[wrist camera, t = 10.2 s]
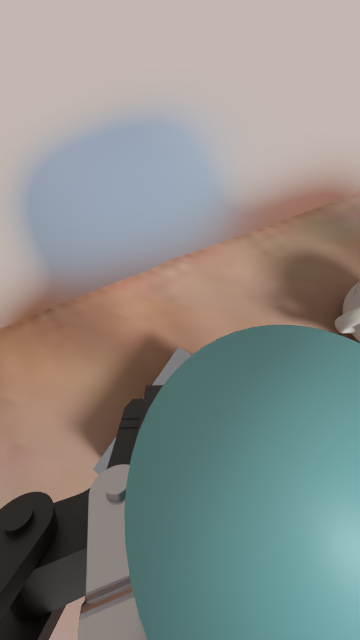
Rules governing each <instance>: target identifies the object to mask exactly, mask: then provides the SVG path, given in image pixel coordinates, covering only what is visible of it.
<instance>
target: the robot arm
mask: <svg viewBox="0 0 360 640" xmlns="http://www.w3.org/2000/svg"><path fill="white" fill-rule="evenodd" d="M162 387H163V385H147V386H146V390H145V395H144V399H133V400H132V401H131V402H130V403H129V404H128V405H127V406H126V407H125V409H124V413H123V416H122V421H121V423H120V426H119V430H118V433H117V436H116V440H115V443H114V446H113V450H112V453H111V456H110V460H109V463H108V466H107V469H106V470H105V471H104V472H102V473H101V474H100V475H99V476H98V477H97V478H96V479H95V481H94V482H93V484H92V486H91V488H90V489H88V490H87V491H85V492H83V493H81V494H78V495H76V496H73V497H70V498H67V499H64V500H61V501H58V502H55V503H53V501H52V499H51V498H50V496H49V495H47V494H45V493H43V492H31V493H27V494H24V495H21V496H19V497H17V498H15V499H14V500H12V501H10V502H9V503H8V504H6V505H5V506H4V507H3V508H1V509H0V640H49V638H50V636H51V634H52V632H53V630H54V628H55V626H56V624H57V622H58V620H59V618H60V616H61V614H62V612H63V610H64V608H65V606H66V604H68V603H71V602H73V601H75V600H77V599H79V598H81V597H83V596H85V595H86V596H85V601H84V603H83V604H82V606H81V611H80V618H79V629H78V640H147V637H146V634H145V631H144V628H143V626H142V623H141V620H140V617H139V614H138V610H137V606H136V602H135V598H134V594H133V590H132V586H131V581H130V576H129V568H128V561H127V554H126V547H125V520H124V510H125V496H126V483H127V477H128V472H129V466H130V461H131V456H132V452H133V449H134V446H135V442H136V439H137V436H138V433H139V430H140V428H141V425H142V423H143V421H144V418H145V416H146V414H147V412H148V409H149V408H150V406H151V404H152V402H153V401H154V399H155V397H156V396H157V394H158V392H159V391H160V389H161V388H162Z"/></svg>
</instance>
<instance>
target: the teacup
mask: <svg viewBox="0 0 360 640" xmlns="http://www.w3.org/2000/svg"><path fill="white" fill-rule="evenodd" d="M335 327H336V328H337V330H338V331H339V332H340V333H351V334H352V335H353V336H354V337H355V338H356V339H357V340H358V341H359V342H360V281H359V282H358V283H357V284H355V285H354V286H353V287H352V289H351V290H350V291H349V292H348V294H347V295H346V297H345V300H344V303H343V315H341V316H340V317H338V318H337V319H336V320H335Z"/></svg>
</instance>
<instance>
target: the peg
mask: <svg viewBox="0 0 360 640" xmlns="http://www.w3.org/2000/svg"><path fill="white" fill-rule="evenodd" d="M124 520H125V547H126V554H127V561H128V568H129V576H130V581H131V586H132V590H133V594H134V598H135V602H136V606H137V610H138V614H139V617H140V620H141V623H142V626H143V628H144V631H145V634H146V637H147V640H360V343H358V342H356V341H354V340H351V339H349V338H347V337H344V336H341V335H338V334H335V333H332V332H329V331H325V330H320V329H316V328H311V327H305V326H295V325H267V326H259V327H252V328H248V329H244V330H240V331H237V332H233V333H231V334H229V335H226V336H224V337H221V338H219V339H217V340H215V341H213V342H212V343H210V344H208V345H206V346H205V347H203V348H201V349H200V350H199V351H197V352H196V353H195V354H193V355H192V356H191V357H189V358H188V359H187V360H186V361H185V362H184V363H183V364H182V365H181V366H180V367H179V368H178V369H177V370H176V371H175V372H174V373H173V374H172V375H171V376H170V378H169V379H168V380H167V381H166V383H165V384H164V385H163V387H162V388H161V389H160V391H159V392H158V394H157V396H156V397H155V399H154V401H153V402H152V404H151V406H150V408H149V409H148V412H147V414H146V416H145V418H144V421H143V423H142V425H141V428H140V430H139V433H138V436H137V439H136V442H135V446H134V449H133V452H132V456H131V461H130V466H129V472H128V477H127V483H126V496H125V510H124Z"/></svg>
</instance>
